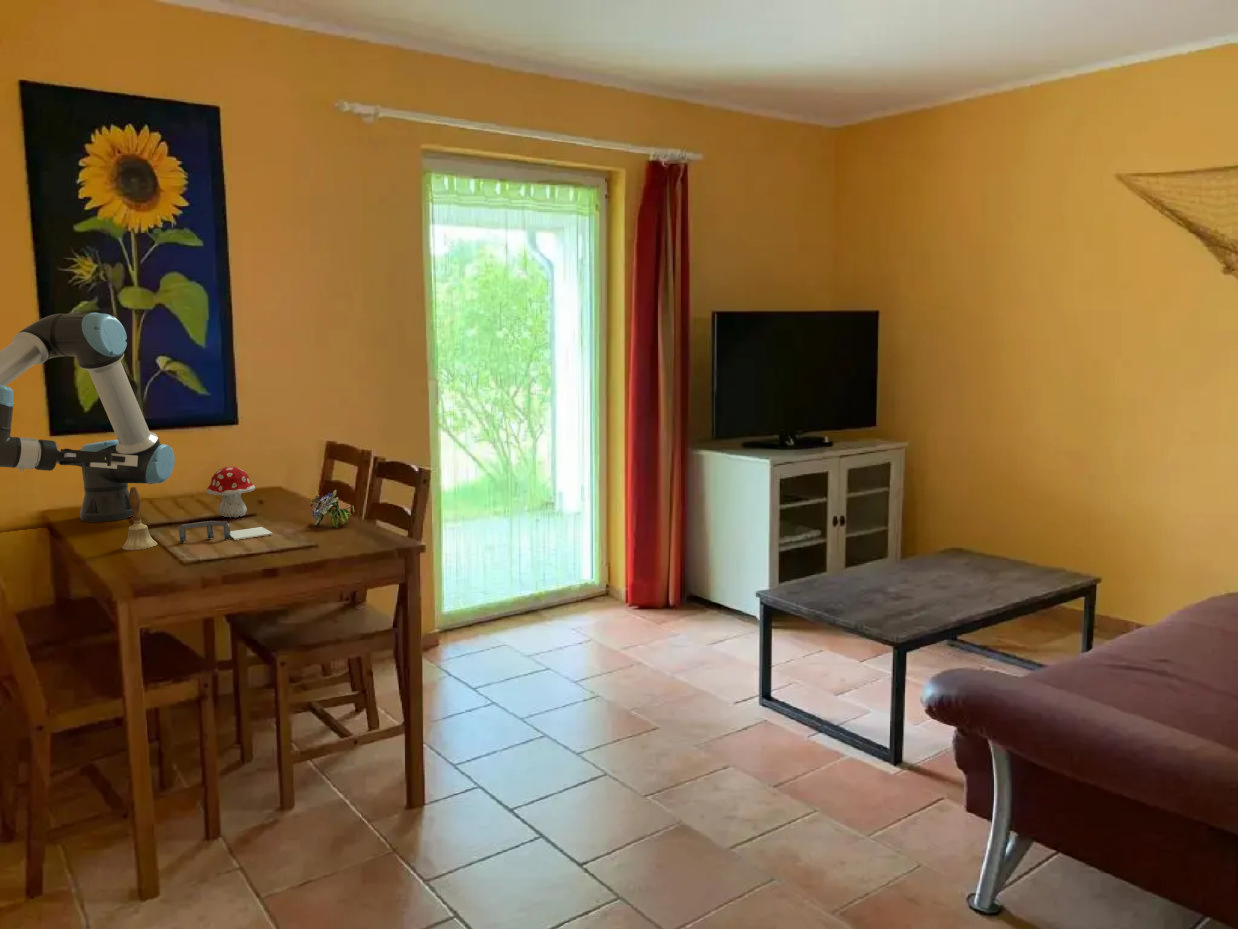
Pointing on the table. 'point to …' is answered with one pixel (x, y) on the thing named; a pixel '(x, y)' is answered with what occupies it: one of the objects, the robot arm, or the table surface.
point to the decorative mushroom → (230, 490)
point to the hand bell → (137, 527)
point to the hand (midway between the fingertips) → (126, 462)
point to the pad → (249, 533)
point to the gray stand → (209, 529)
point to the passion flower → (329, 509)
